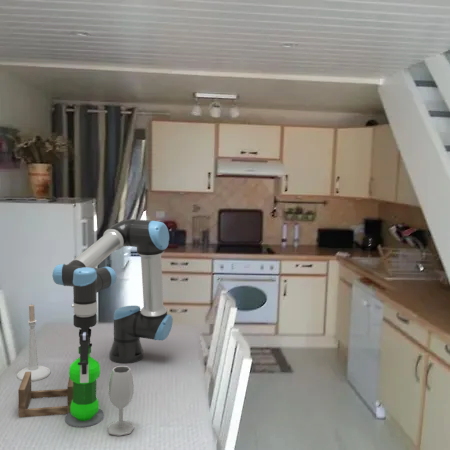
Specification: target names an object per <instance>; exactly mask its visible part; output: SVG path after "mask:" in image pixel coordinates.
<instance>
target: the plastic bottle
mask: <svg viewBox="0 0 450 450" xmlns="http://www.w3.org/2000/svg"><path fill="white" fill-rule="evenodd" d="M91 353H92V347H91V346H89V345H88V362H89V383H80V365H78V362H80V356H79V357H78V358H77V359H75V360H74V361H73V362H71V364H70V366H69V368H68V369H69V371H68V374H69V376H70V379H71V380H72V381H73V400H72V402H71V404H70V412H71V414H72V415H73V416H74V417H75V418H77V419H78V420H80V421H86V420H90V419H91V418H92V417H93V416H94V415H95V414H96V413H97V412H98V410H99V409H100V404H99V403H100V401H99V399H98V397H97V380H98V378H100V374H101V366H100V363H99V361H97V360H96V359H95V358H93V357H91ZM78 354H79V355H80V346H78ZM69 376H68V377H69Z"/></svg>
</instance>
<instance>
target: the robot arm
mask: <svg viewBox="0 0 450 450" xmlns="http://www.w3.org/2000/svg"><path fill="white" fill-rule="evenodd" d="M169 241H170V232H169V228H168V227H167V225H166V224H165V223H164V222H163V221H157V220H150V219H148V220H146V219H134V218H133V219H126V220H122V221H120V222H117V223H115V224H113V225H112V226H110V227H109V228H107V229H106V230H105V231H104V232H103V234H102V236H101V237H100V238H99V239H98V240H97V241H95V242H94V243H92V245H90V246H89V247H88V248H86V249H85V250H84V251H83V252H82V253H80V254H78V256H77V257H75V258H74V259H73V260H71V261H70V262H69V263H68V264H65V263H63V264H62V263H61V264H57V265H55V267H54V269H53V271H52V281H53V282H54V284H56V285H58V286H64V287H72V288H73V291H72V293H73V299H72V300H73V301H72V303H73V304H71V308H73V314H74V315H73V326H74V327H75V328H78V329H79V330H78V337H79V339H78V341H79V345H80V354H79V357H80V362H78V365H80V383H89V362H88V345H89V346H91V348H92V347H93V343H91V337H92V328H93V327H94V326H96V325H97V311H98V310H97V309H98V305H97V304H98V302H97V301H98V300H97V293H99V292H101V291H104V290H107V289H109V288H110V287H112V286H113V285H115V283H116V281H117V273H116V271H115V270H114V268H112V267H110V266H102V267H100V268H99V267H98V266H99V265H100V264H101V263H102V262H103V261H104V260H105V259H106V258H108V257H109V256H110V255H111V254H112V253H114V252H115V251H119V250H120V249H122V248H124V247H134V248H136V254H137V255H139V256H140V263H141V281H142V283H141V284H142V299H143V301H142V303H143V307H142V308H141V307H140V306H139V305H125V306H122V307H119V308H116V309H115V310H114V314H113V341H112V345H111V347H110V351H109V359H110V360H111V361H112V362H115V363H119V364H129V363H131V364H132V363H135V362H138V361H140V360H142V359H143V358H144V350H143V347H142V344H141V338H142V339H147V340H153V341H165V340H166V339H167V338H168V336H169V335H170V333H171V331H172V329H173V323H174V322H173V316H172V315H171V314H169V313H168V308H167V307H166V306H165V305H164V292H163V291H164V289H163V269H162V255H163V254H164V253H165V250H166V249H167V248H168V246H169V244H170V242H169Z"/></svg>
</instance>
